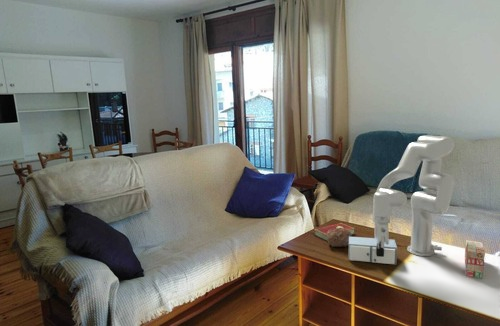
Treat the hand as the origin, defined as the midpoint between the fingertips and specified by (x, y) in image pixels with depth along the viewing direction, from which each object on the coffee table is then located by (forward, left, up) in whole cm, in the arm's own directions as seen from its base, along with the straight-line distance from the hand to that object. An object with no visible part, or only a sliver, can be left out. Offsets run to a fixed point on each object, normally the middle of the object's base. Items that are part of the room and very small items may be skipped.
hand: (379, 255), depth 164 cm
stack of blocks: (-41, -7, -6) cm, 42 cm away
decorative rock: (+19, -22, -6) cm, 29 cm away
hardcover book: (+22, -38, -6) cm, 44 cm away
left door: (-2, -2, -5) cm, 6 cm away
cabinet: (+3, -9, -5) cm, 11 cm away
